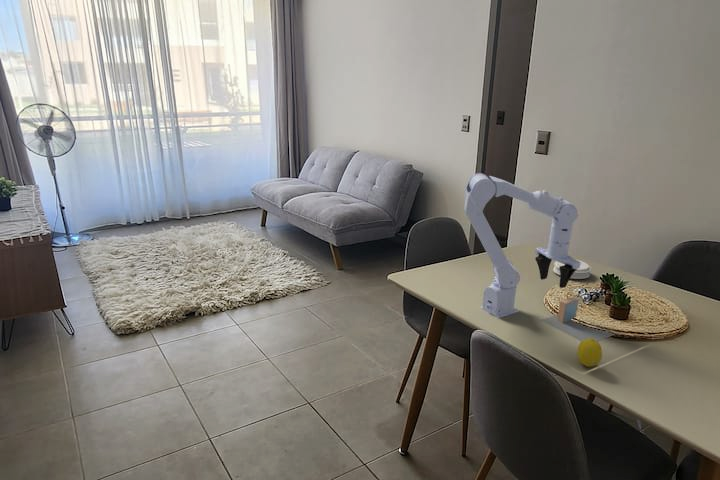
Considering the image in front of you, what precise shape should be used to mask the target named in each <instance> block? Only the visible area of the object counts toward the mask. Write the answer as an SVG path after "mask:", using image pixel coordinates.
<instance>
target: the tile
mask: <svg viewBox="0 0 720 480" xmlns="http://www.w3.org/2000/svg"><path fill="white" fill-rule="evenodd" d="M579 302H580V299H579V298H577V297H575V296H572V297H569V298H564V299H561V300H560V301H559V307H558V308H559V309H558V312H557V313H558V318H557V321H559V322H561V323H564V322H567V321H570V320H571V319H573V318H574V317H576V315H577V312H578V306H579Z"/></svg>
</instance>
